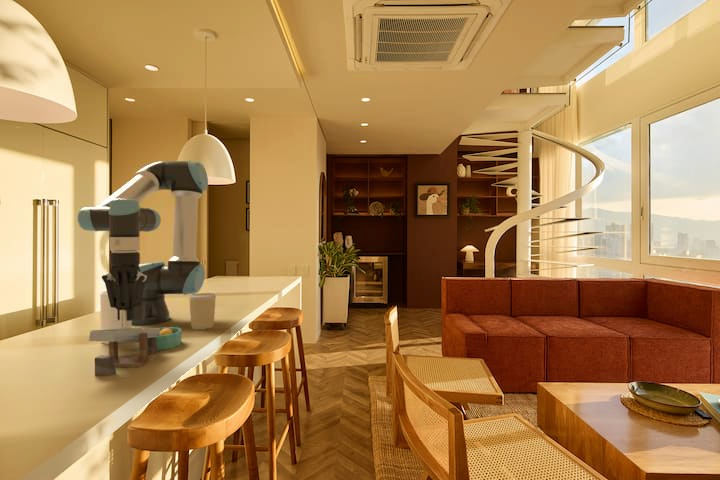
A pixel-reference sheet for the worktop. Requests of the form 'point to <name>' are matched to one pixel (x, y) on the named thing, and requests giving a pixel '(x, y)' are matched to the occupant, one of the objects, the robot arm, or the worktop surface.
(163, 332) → the ball
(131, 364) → the stand
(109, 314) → the cup
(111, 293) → the robot arm
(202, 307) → the coffee cup
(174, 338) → the dish
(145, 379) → the worktop surface
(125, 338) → the lever
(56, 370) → the worktop surface
